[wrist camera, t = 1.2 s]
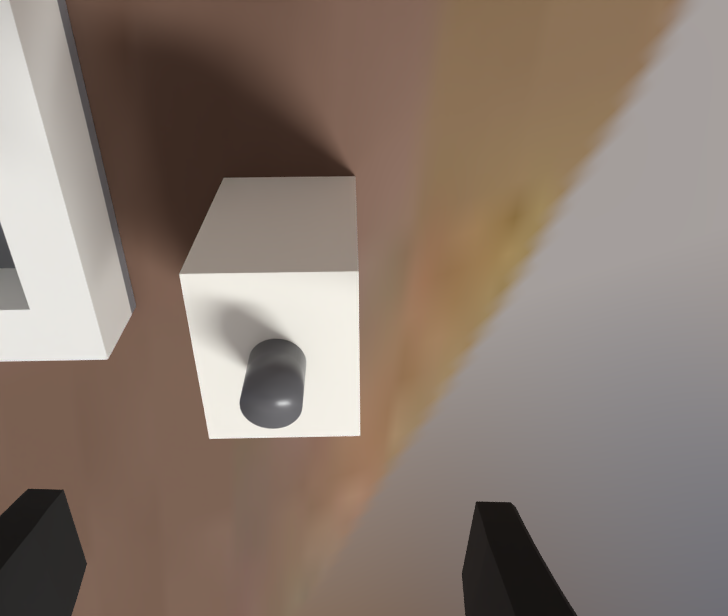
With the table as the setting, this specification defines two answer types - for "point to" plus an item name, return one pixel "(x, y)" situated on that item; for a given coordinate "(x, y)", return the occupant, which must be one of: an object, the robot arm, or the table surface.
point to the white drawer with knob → (277, 308)
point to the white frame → (53, 199)
